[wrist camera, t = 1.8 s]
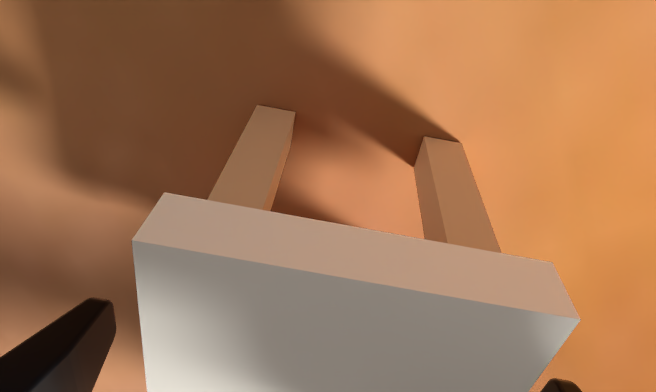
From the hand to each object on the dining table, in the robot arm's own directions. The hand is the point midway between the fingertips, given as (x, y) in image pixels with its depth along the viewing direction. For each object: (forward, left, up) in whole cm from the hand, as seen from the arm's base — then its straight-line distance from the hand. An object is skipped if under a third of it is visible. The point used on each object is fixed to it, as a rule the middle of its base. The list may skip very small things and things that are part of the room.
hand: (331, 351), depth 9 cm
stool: (0, 0, -5) cm, 5 cm away
